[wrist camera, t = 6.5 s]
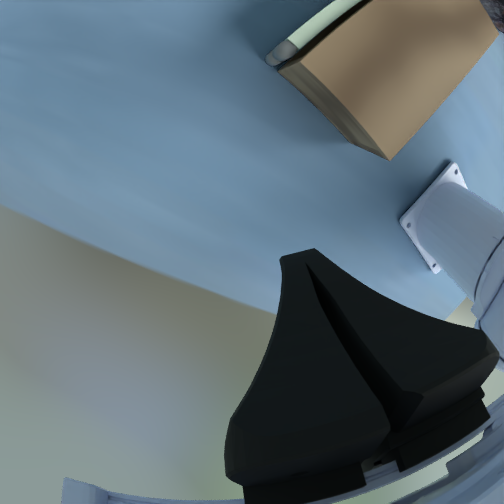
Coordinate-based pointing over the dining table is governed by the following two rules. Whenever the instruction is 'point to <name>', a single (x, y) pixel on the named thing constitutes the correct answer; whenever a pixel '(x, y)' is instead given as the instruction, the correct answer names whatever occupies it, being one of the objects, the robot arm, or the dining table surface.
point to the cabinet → (390, 66)
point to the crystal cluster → (495, 12)
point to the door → (308, 31)
